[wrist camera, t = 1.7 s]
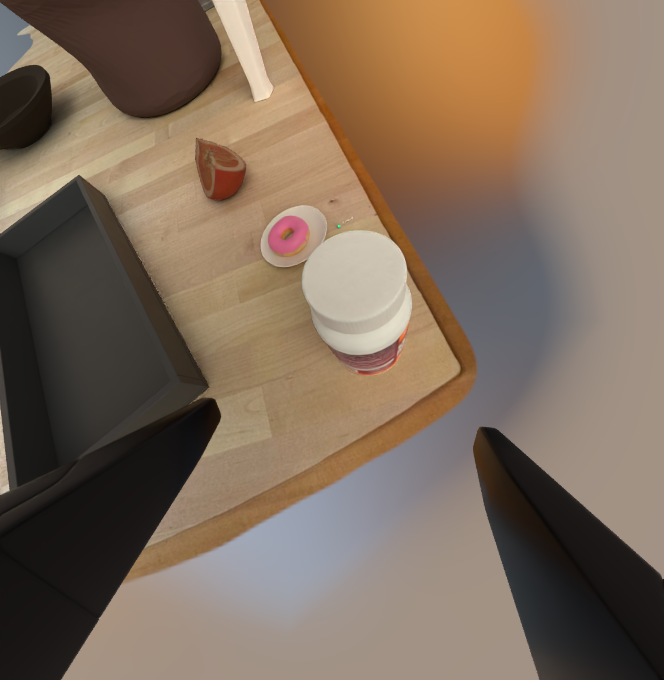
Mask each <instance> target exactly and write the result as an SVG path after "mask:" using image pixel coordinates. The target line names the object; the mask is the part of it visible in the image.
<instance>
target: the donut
mask: <svg viewBox="0 0 664 680" xmlns="http://www.w3.org/2000/svg"><path fill="white" fill-rule="evenodd" d="M352 219H353V217H352ZM350 220H351V219H350ZM345 221H346V220H345ZM348 222H349V220H348ZM346 223H347V221H346ZM343 224H344V222H343ZM337 227H338V228H340V225H338V226H337ZM326 232H327V222H326V219H325V216H324V215H323V213H322V212H321V211H320V210H318V209H317V208H315V207H312V206H306V205H303V206H295V207H292V208H289V209H287V210H285V211H283V212H281V213H280V214H279V215H277V216H276V217H275V218H274V219H273V220H272V221H271V222H270V223H269V224H268V226H267V227H266V229H265V231H264V232H263V235H262V238H261V243H260V246H261V253H262V255H263V257H264V259H265V260H266V261H267V262H268V263H270V264H272V265H274V266H277V267H290V266H294V265H297V264H300V263H302V262H304V261H305V260H307V259H308V258H309V256H310V255H311V253H312V252H313V251H314V250H315V249H316V248H317V247H318V246H319V245H320V244H321V243H322V242H323V241H324V239H325V236H326Z"/></svg>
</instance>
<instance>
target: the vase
mask: <svg viewBox="0 0 664 680" xmlns="http://www.w3.org/2000/svg"><path fill="white" fill-rule="evenodd" d="M0 2H1V3H2V4H3V5H4V6H6V7H7V8H8V9H10V10H11V11H12V12H14V13H15V14H16V15H18V16H19V17H20V18H22V19H23V20H24V21H26V22H27V23H29V24H30V25H31V26H33V27H34V28H36V29H37V30H39V31H40V32H41V33H43V34H44V35H46V36H47V37H48V38H50V39H51V40H53V41H54V42H55V43H57V44H58V45H59V46H61V47H62V48H63V49H65V50H66V51H67V52H68V53H70V54H71V55H72V56H74V57H75V58H76V59H77V60H78V61H79V62H81V63H82V64H83V65H84V66H85V67H86V68H87V69H88V71H89V72H90V73H91V74H92V76H93V77H94V79H95V81H96V82H97V84H98V85H99V87H100V88H101V90H102V91H103V92H104V94H105V95H106V96H107V97H108V99H109V100H110V101H111V102H112V104H113V105H114V106H115V107H116V108H118V109H119V110H120V111H122V112H123V113H126V114H129V115H132V116H139V117H153V116H158V115H162V114H165V113H168V112H171V111H173V110H175V109H177V108H179V107H181V106H182V105H184V104H186V103H187V102H189V101H190V100H192V99H193V98H195V97H196V96H197V95H198V94H199V93H200V92H202V91H203V90H204V89H205V88H206V86H207V85H208V84H209V83H210V81H211V80H212V78H213V77H214V75H215V73H216V71H217V69H218V67H219V64H220V60H221V45H220V42H219V39H218V36H217V34H216V32H215V30H214V28H213V26H212V24H211V22H210V20H209V18H208V16H207V15H206V13H205V11H204V10H203V8H202V6H201V4H200V2H199V1H198V0H0Z"/></svg>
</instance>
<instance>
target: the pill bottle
mask: <svg viewBox="0 0 664 680" xmlns="http://www.w3.org/2000/svg"><path fill="white" fill-rule="evenodd" d="M406 279H407V267H406V262H405V258H404V256H403V254H402V252H401V250H400V249H399V247H398V246H397V245H396V244H395V243H394V242H393V241H392V240H390V239H389V238H387V237H385V236H384V235H381V234H379V233H376V232H372V231H367V230H352V231H346V232H343V233H339V234H337V235H334V236H332V237H330V238H328V239H327V240H325V241H324V242H322V243H321V244H320V245H319V246H318V247H317V248H316V249H315V250H314V251H313V252H312V253H311V255H310V256H309V258H308V259H307V261H306V263H305V266H304V268H303V272H302V290H303V294H304V296H305V299H306V301H307V302H308V304H309V306H310V307H311V316H312V320H313V324H314V326H315V328H316V330H317V332H318V334H319V335H320V337H321V338H322V339H323V340H324V342H325V343H326V344H327V345H328V347H329V348H330V349H331V350H332V352H333V353H334V354H335V356H336V357H337V358H338V360H339V361H340V362H341V363H342V365H343V366H344V367H346V368H347V369H348V370H350V371H352V372H354V373H356V374H359V375H365V376H372V375H378V374H381V373H383V372H385V371H387V370H389V369H390V368H391V367H392V366H393V365H394V364H395V363H396V362H397V361H398V359H399V357H400V355H401V353H402V350H403V346H404V343H405V338H406V334H407V330H408V326H409V321H410V316H411V310H412V299H411V294H410V290H409V288H408V285H407V284H406Z"/></svg>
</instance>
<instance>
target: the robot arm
mask: <svg viewBox="0 0 664 680" xmlns="http://www.w3.org/2000/svg"><path fill="white" fill-rule="evenodd" d="M220 419H221V413H220V410H219V408H218V405H217V403H216V400H215V399H213V398H206V397H205V398H201V399H199V400H197V401H195V402H193V403H191V404H189V405H187V406H185V407H183V408H181V409H179V410H176V411H174V412H172V413H170V414H168V415H166V416H164V417H162V418H160V419H158V420H156V421H154V422H152V423H150V424H148V425H146V426H144V427H142V428H140V429H138V430H136V431H134V432H132V433H130V434H127V435H125V436H123V437H121V438H119V439H117V440H115V441H113V442H111V443H109V444H107V445H105V446H103V447H101V448H99V449H97V450H95V451H93V452H91V453H89V454H87V455H85V456H83V457H81V458H80V459H76V460H74V461H72V462H70V463H68V464H66V465H64V466H62V467H60V468H58V469H56V470H54V471H52V472H50V473H47V474H45V475H43V476H41V477H39V478H37V479H35V480H33V481H30V482H28V483H26V484H24V485H22V486H19V487H17V488H15V489H13V490H11V491H8V492H6V493H4V494H2V495H0V680H61V679H62V677H63V676H64V674H65V672H66V671H67V670H68V668H69V666H70V665H71V663H72V662H73V660H74V658H75V657H76V655H77V654H78V652H79V651H80V649H81V647H82V646H83V644H84V643H85V641H86V639H87V638H88V636H89V635H90V633H91V631H92V630H93V628H94V627H95V625H96V624H97V622H98V620H99V618H100V617H101V615H102V614H103V612H104V611H105V609H106V607H107V606H108V604H109V603H110V601H111V599H112V598H113V596H114V595H115V593H116V592H117V590H118V588H119V587H120V585H121V584H122V582H123V580H124V579H125V577H126V576H127V574H128V573H129V571H130V569H131V568H132V566H133V565H134V563H135V561H136V560H137V558H138V557H139V555H140V554H141V552H142V550H143V549H144V547H145V546H146V544H147V542H148V541H149V539H150V538H151V536H152V535H153V533H154V531H155V530H156V528H157V527H158V525H159V523H160V522H161V520H162V519H163V517H164V516H165V514H166V512H167V511H168V509H169V508H170V506H171V504H172V503H173V501H174V500H175V498H176V497H177V495H178V493H179V492H180V490H181V489H182V487H183V485H184V484H185V482H186V481H187V479H188V478H189V476H190V474H191V473H192V471H193V470H194V468H195V467H196V465H197V463H198V462H199V460H200V458H201V456H202V455H203V453H204V451H205V449H206V447H207V445H208V443H209V441H210V439H211V437H212V435H213V433H214V431H215V430H216V428H217V426H218V424H219V422H220ZM473 452H474V458H475V463H476V468H477V472H478V477H479V482H480V487H481V492H482V496H483V501H484V506H485V510H486V513H487V517H488V520H489V523H490V526H491V530H492V532H493V536H494V539H495V542H496V545H497V548H498V551H499V555H500V558H501V561H502V564H503V567H504V570H505V573H506V576H507V579H508V583H509V586H510V589H511V592H512V595H513V598H514V602H515V605H516V608H517V611H518V613H519V617H520V620H521V623H522V627H523V630H524V632H525V636H526V639H527V642H528V645H529V648H530V652H531V655H532V658H533V661H534V664H535V667H536V670H537V673H538V676H539V680H664V579H662V577H661V575H660V574H659V573H658V572H657V571H656V570H655V569H654V568H653V567H652V566H651V565H649V564H648V563H647V562H646V561H645V560H644V559H643V558H642V557H640V556H639V555H638V554H637V553H636V552H635V551H633V549H631V548H630V547H629V546H628V545H627V544H626V543H625V542H624V541H622V540H621V539H620V538H619V537H618V536H617V535H616V534H615V533H613V532H612V531H611V530H610V529H609V528H608V527H606V525H604V524H603V523H602V522H601V521H600V520H599V519H598V518H596V517H595V516H594V515H593V514H592V513H591V512H589V511H588V510H587V509H586V508H585V507H584V506H583V505H582V504H581V503H580V502H579V501H577V500H576V499H575V498H574V497H573V496H572V495H571V494H570V493H568V492H567V491H566V490H565V489H564V488H563V487H562V486H561V485H559V484H558V483H557V482H556V481H555V480H554V479H553V478H551V477H550V476H549V475H548V474H547V473H546V472H545V471H543V470H542V469H541V468H540V467H539V466H538V465H537V464H536V463H534V462H533V461H532V460H531V459H530V458H529V457H528V456H527V455H526V454H524V453H523V452H522V451H521V450H520V449H519V448H518V447H517V446H515V445H514V444H513V443H512V442H511V441H510V440H509V439H508V438H506V437H505V436H504V435H503V434H502V433H501V432H499V430H497V429H495V428H490V427H479V429H478V431H477V435H476V438H475V442H474V446H473Z"/></svg>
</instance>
